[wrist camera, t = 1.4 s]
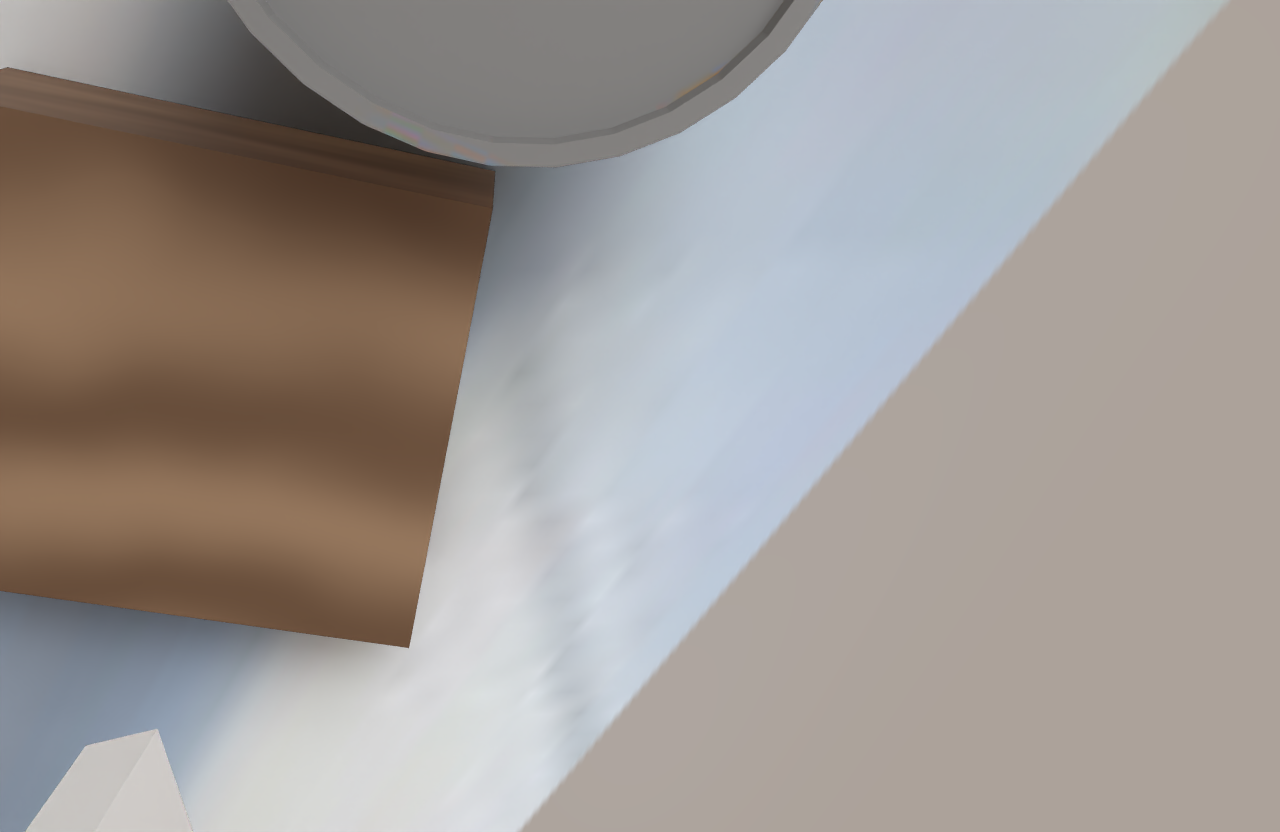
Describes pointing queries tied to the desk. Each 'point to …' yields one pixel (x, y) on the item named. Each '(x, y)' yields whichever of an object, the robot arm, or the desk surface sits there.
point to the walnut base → (225, 360)
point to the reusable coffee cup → (527, 68)
